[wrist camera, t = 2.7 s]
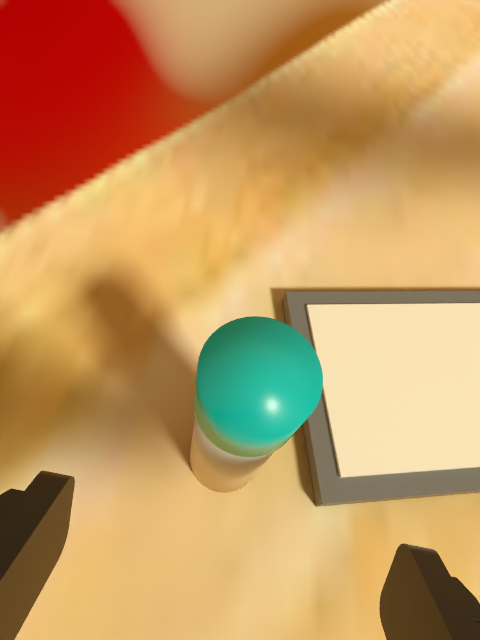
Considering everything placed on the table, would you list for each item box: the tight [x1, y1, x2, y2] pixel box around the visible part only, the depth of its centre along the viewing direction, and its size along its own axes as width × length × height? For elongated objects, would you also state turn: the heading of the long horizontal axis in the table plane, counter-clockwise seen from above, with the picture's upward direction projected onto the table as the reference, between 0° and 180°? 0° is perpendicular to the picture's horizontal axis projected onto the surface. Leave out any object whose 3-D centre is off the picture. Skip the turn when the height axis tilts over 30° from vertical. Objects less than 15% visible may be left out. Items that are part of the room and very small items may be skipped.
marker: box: [190, 317, 323, 492], centre depth 16 cm, size 3×3×10 cm
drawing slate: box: [282, 291, 480, 506], centre depth 23 cm, size 14×11×1 cm
